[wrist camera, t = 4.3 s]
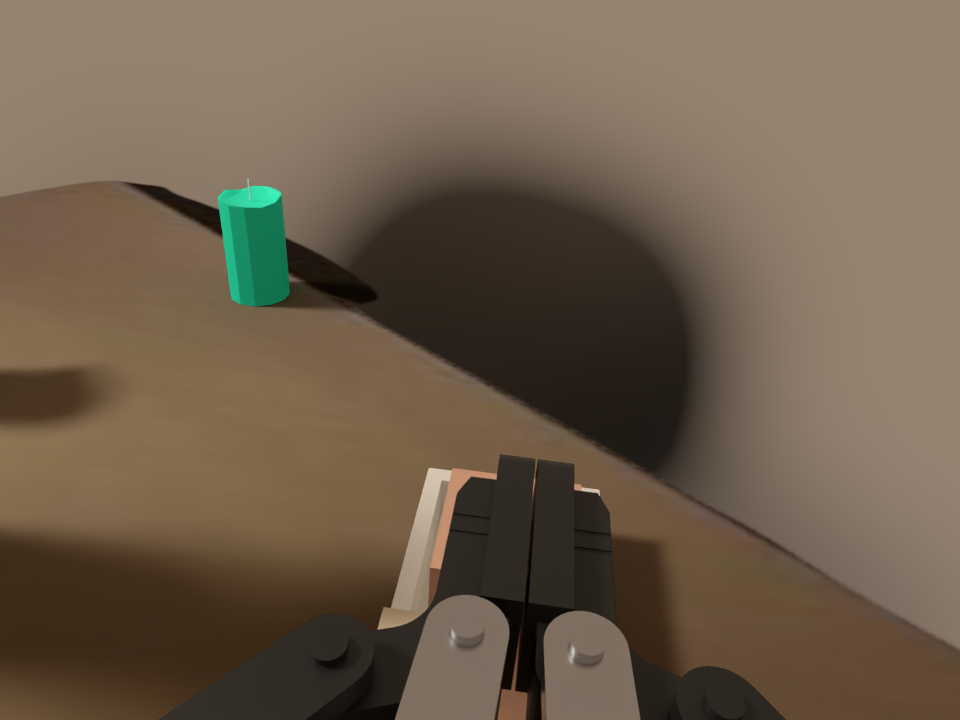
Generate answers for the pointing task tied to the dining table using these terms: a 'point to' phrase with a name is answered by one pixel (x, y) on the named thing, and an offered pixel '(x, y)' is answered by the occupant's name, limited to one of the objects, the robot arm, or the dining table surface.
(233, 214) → the candle
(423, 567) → the tray
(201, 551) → the dining table surface
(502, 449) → the dining table surface
